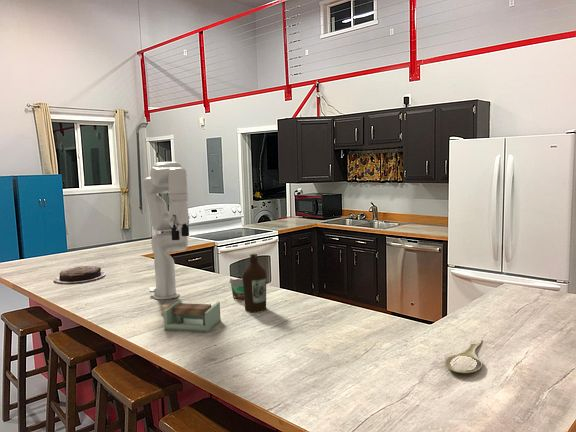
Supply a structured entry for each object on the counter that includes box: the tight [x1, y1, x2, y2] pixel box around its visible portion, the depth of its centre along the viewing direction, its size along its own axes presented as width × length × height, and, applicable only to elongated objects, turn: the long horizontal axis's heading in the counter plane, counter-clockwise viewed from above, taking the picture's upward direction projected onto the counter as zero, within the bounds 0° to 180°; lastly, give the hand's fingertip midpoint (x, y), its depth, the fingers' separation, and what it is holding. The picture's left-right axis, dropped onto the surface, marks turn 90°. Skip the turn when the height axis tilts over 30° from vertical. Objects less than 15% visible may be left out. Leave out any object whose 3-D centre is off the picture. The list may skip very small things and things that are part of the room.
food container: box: [229, 277, 245, 301], centre depth 226 cm, size 12×6×10 cm, turn 105°
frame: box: [163, 300, 221, 334], centre depth 191 cm, size 18×14×8 cm
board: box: [173, 302, 212, 315], centre depth 191 cm, size 14×6×3 cm, turn 79°
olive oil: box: [241, 253, 267, 313], centre depth 209 cm, size 11×11×25 cm
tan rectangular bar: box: [161, 303, 172, 316], centre depth 206 cm, size 10×3×4 cm, turn 79°
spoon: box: [444, 343, 483, 374], centre depth 155 cm, size 35×11×2 cm, turn 148°
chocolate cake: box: [53, 265, 106, 285], centre depth 277 cm, size 28×28×7 cm
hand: (180, 238), depth 199 cm, fingers open, 9 cm apart
